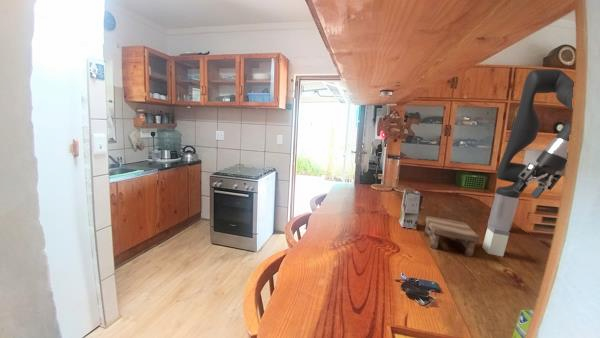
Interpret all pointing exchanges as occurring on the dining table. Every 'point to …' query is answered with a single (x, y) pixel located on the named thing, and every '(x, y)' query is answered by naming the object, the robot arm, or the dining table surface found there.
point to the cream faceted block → (495, 240)
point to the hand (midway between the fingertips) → (525, 194)
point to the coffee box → (410, 208)
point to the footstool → (450, 233)
